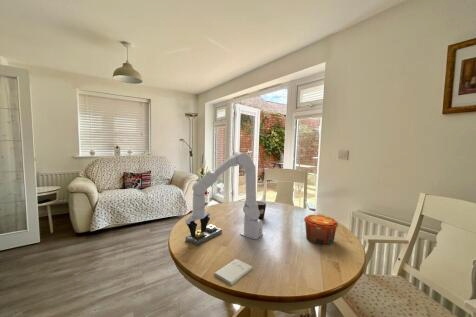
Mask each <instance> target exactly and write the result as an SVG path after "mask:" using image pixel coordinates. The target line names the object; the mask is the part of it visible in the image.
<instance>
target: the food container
mask: <svg viewBox="0 0 476 317" xmlns="http://www.w3.org/2000/svg"><path fill="white" fill-rule="evenodd" d="M303 220H304V223H305V225H304V226H305V238H306V240H308V241H309V242H310V243H312V244H315V245H317V244H319V245H318V246H323V245H328V246H331V245H332V244H334V243H335V242H334V240H335V235H336V230H337V228H338V226H339V223H338V222H337V220H335V218H333V217H330V216H325V215H322V214H309V215H307V216H305V217H304V219H303Z"/></svg>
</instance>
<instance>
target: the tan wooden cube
mask: <svg viewBox="0 0 476 317" xmlns="http://www.w3.org/2000/svg"><path fill="white" fill-rule="evenodd" d="M200 230H201V229H200ZM200 230H199V229H196V233H195V237H192V238H195V239H197V240H199V239H201V238H203V237H204V232H203V231H200Z"/></svg>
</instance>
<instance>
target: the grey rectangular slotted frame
mask: <svg viewBox="0 0 476 317" xmlns="http://www.w3.org/2000/svg"><path fill="white" fill-rule="evenodd" d="M200 231H201V229H200ZM222 233H223V229H222V228H220V227H217V226H216V231H215V232H213V233H209V232H206V231H205V232H204V237H203V238H201V239H199V240H197V239H195V238H192V236H191V234H189V235H186V236H185V241H186V242H188V243H190V244H192V245H195V246H200V245H201V244H204V243H205V242H208V241H209V240H211V239H213V238H214V237H216V236H219V235H221V234H222Z"/></svg>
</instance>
